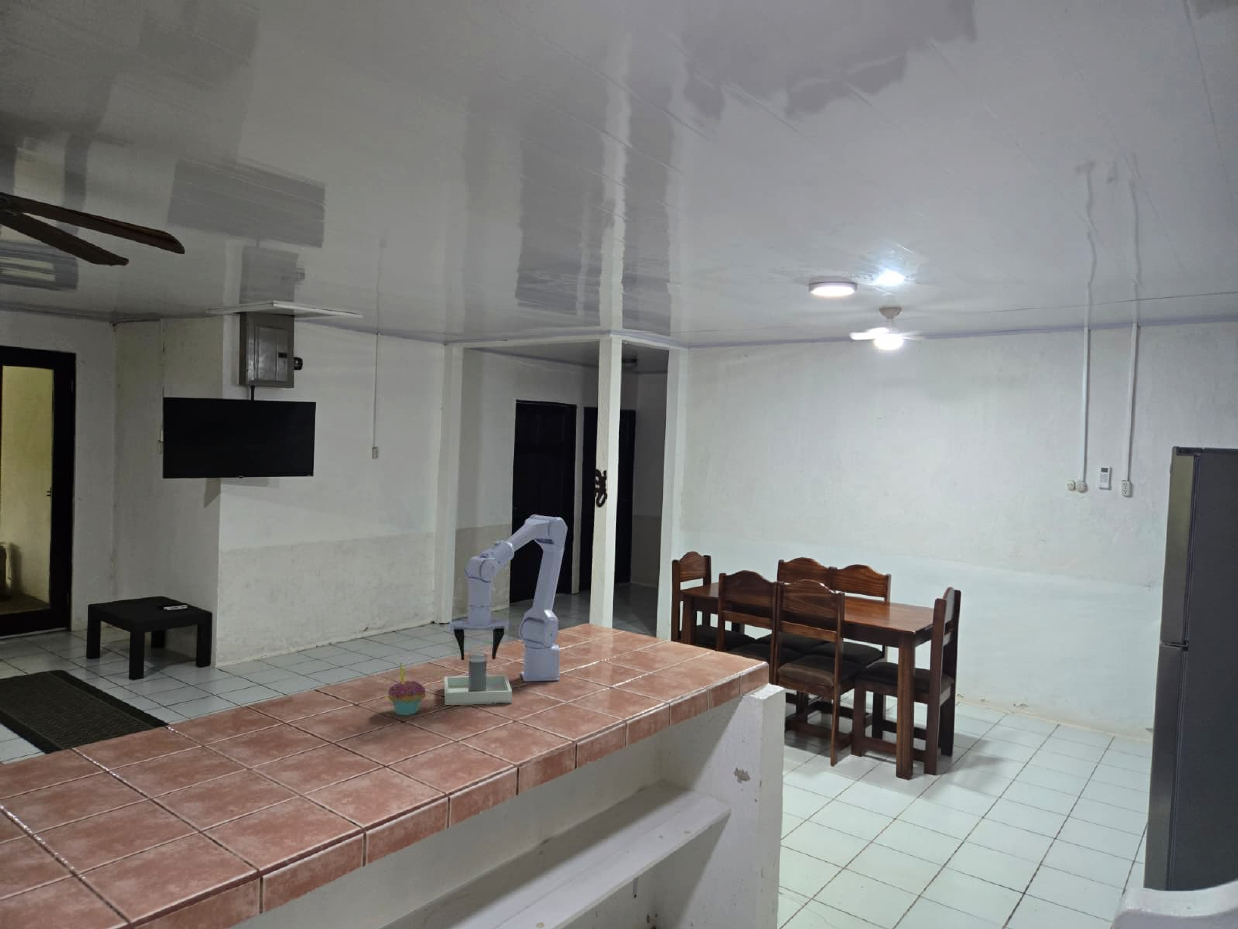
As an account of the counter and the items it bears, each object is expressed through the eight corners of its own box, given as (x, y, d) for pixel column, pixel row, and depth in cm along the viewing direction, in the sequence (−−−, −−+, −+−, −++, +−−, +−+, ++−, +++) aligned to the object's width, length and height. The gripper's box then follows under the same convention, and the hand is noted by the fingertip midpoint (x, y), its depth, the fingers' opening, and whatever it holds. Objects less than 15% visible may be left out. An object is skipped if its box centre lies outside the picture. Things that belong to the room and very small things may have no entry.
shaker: (485, 690, 209) (486, 652, 209) (486, 695, 205) (487, 657, 204) (467, 690, 208) (468, 652, 208) (468, 696, 204) (469, 658, 203)
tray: (506, 686, 215) (506, 674, 215) (511, 703, 201) (512, 691, 201) (443, 688, 211) (444, 676, 211) (445, 706, 198) (445, 693, 198)
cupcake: (402, 720, 187) (404, 668, 186) (379, 712, 192) (381, 661, 191) (432, 711, 193) (434, 661, 193) (409, 703, 199) (410, 654, 198)
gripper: (450, 608, 200) (449, 663, 200) (510, 608, 203) (508, 662, 204) (449, 602, 207) (448, 656, 207) (507, 602, 210) (506, 654, 211)
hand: (478, 658), depth 206 cm, fingers open, 7 cm apart
